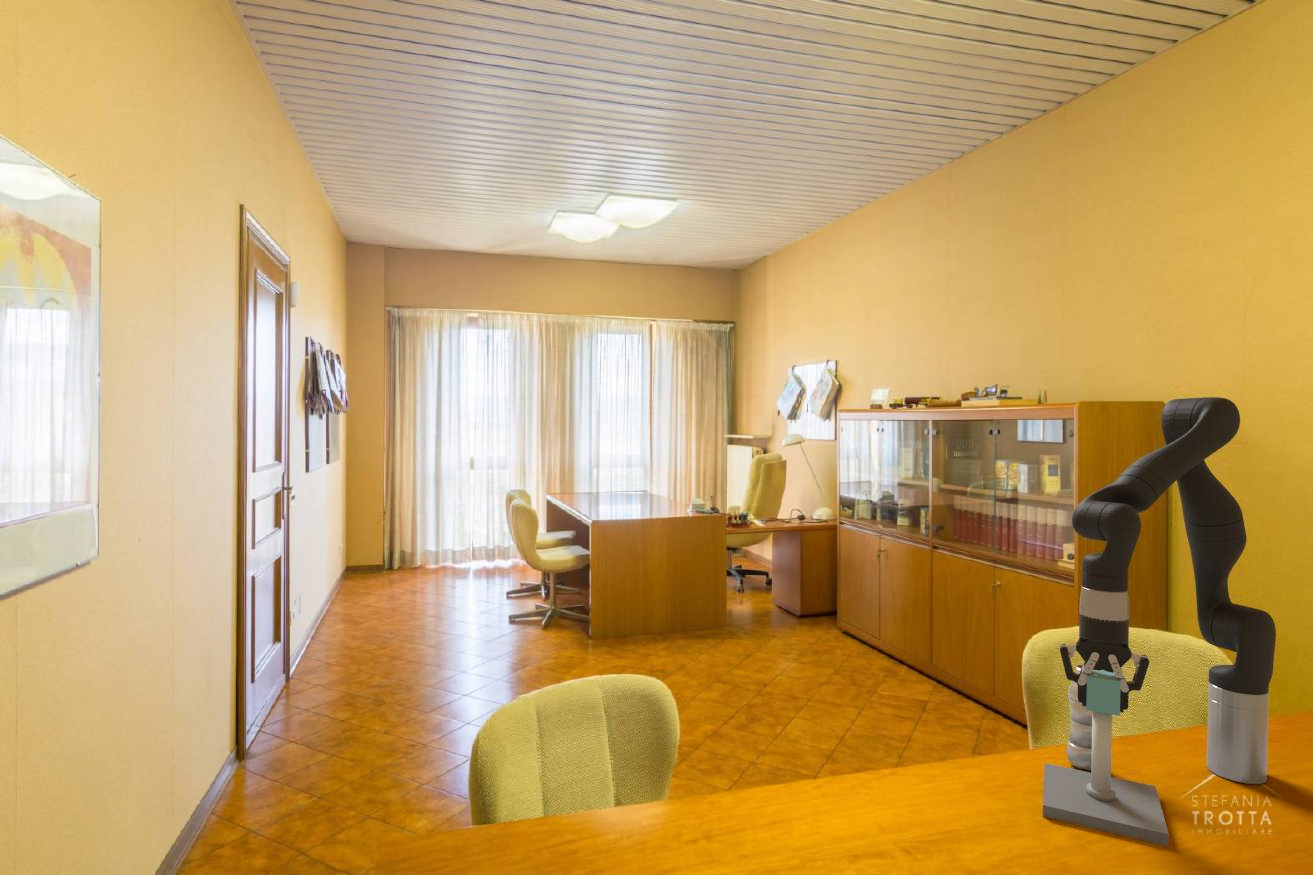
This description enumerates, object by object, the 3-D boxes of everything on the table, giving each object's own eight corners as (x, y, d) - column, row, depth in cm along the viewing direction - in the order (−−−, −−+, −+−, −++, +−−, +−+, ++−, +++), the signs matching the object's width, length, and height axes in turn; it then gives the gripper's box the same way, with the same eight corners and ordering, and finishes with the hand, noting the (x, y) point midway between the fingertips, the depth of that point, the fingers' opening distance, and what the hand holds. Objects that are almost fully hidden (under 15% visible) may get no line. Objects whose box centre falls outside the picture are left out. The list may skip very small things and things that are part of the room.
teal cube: (1085, 700, 132) (1086, 668, 132) (1117, 706, 130) (1118, 672, 130) (1086, 709, 128) (1087, 676, 128) (1119, 715, 125) (1120, 681, 125)
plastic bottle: (1093, 760, 147) (1094, 662, 147) (1110, 776, 140) (1112, 674, 140) (1059, 758, 148) (1061, 661, 147) (1075, 774, 141) (1077, 672, 141)
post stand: (1044, 773, 141) (1045, 682, 141) (1155, 796, 133) (1157, 699, 132) (1042, 816, 126) (1044, 713, 125) (1168, 846, 117) (1170, 736, 116)
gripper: (1150, 614, 128) (1148, 708, 129) (1057, 603, 135) (1056, 693, 136) (1155, 623, 122) (1152, 723, 122) (1057, 612, 129) (1056, 707, 129)
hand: (1102, 707), depth 129 cm, fingers closed on teal cube, 5 cm apart
